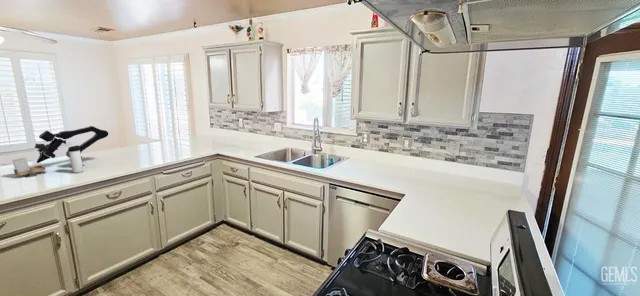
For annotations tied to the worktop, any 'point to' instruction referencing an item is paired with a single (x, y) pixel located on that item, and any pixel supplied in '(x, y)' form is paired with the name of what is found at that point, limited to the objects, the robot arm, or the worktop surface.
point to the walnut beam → (32, 170)
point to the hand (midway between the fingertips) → (37, 162)
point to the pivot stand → (30, 174)
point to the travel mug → (75, 159)
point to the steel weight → (21, 165)
